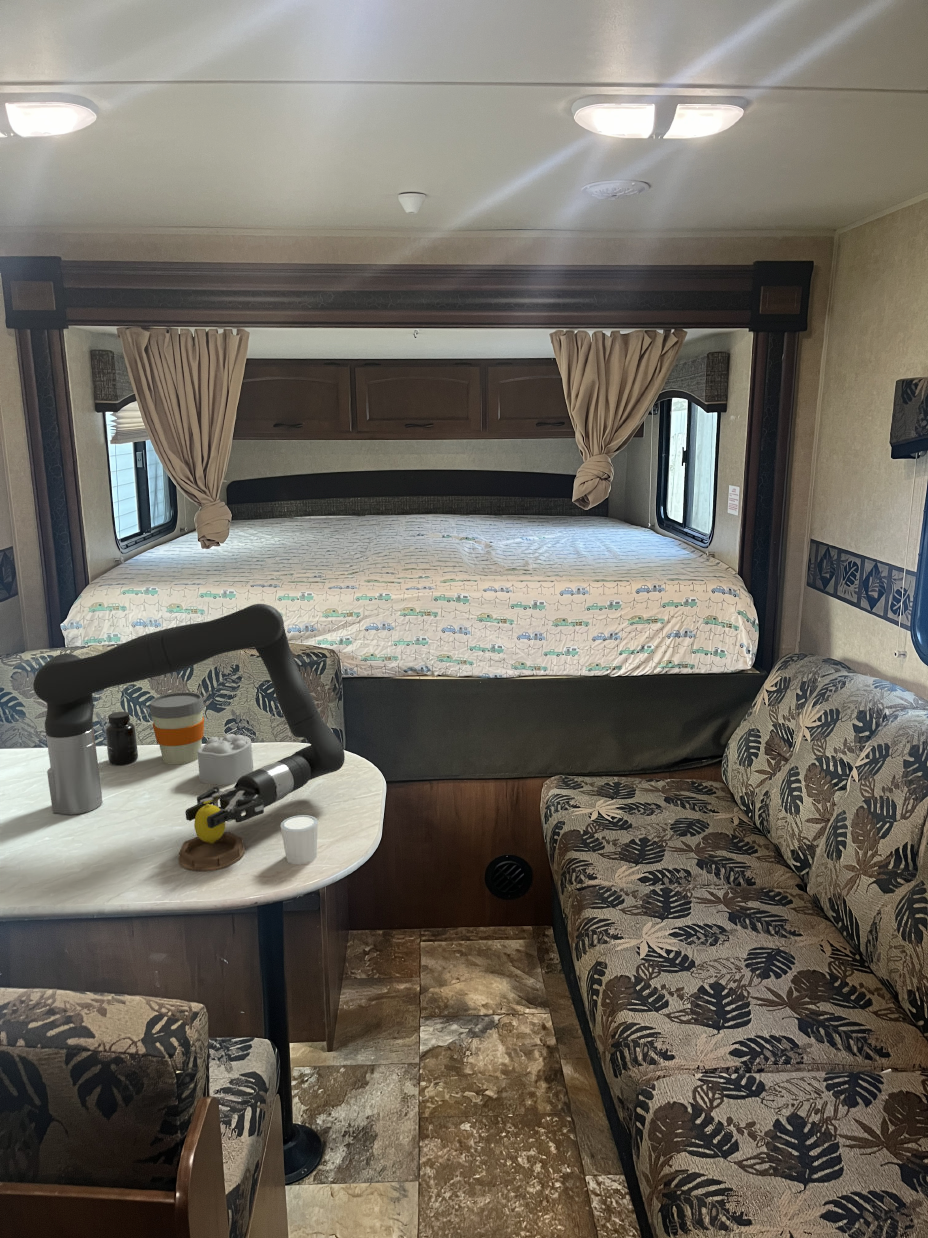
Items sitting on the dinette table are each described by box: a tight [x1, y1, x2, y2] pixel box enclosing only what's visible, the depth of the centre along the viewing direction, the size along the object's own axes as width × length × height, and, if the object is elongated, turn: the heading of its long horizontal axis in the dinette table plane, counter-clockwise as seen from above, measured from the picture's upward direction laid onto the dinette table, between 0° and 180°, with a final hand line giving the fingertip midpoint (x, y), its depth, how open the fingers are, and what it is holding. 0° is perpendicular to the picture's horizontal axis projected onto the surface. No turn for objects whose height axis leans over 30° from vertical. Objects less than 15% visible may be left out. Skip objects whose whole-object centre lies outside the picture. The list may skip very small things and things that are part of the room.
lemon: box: [193, 804, 226, 844], centre depth 162 cm, size 6×6×8 cm
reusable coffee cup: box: [149, 691, 205, 765], centre depth 212 cm, size 13×13×15 cm
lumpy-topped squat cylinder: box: [197, 733, 254, 786], centre depth 202 cm, size 10×13×9 cm
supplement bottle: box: [104, 711, 139, 766], centre depth 211 cm, size 7×7×12 cm
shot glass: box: [280, 814, 319, 865], centre depth 161 cm, size 7×7×7 cm
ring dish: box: [178, 831, 246, 872], centre depth 163 cm, size 12×12×2 cm
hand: (198, 819), depth 160 cm, fingers closed on lemon, 5 cm apart
